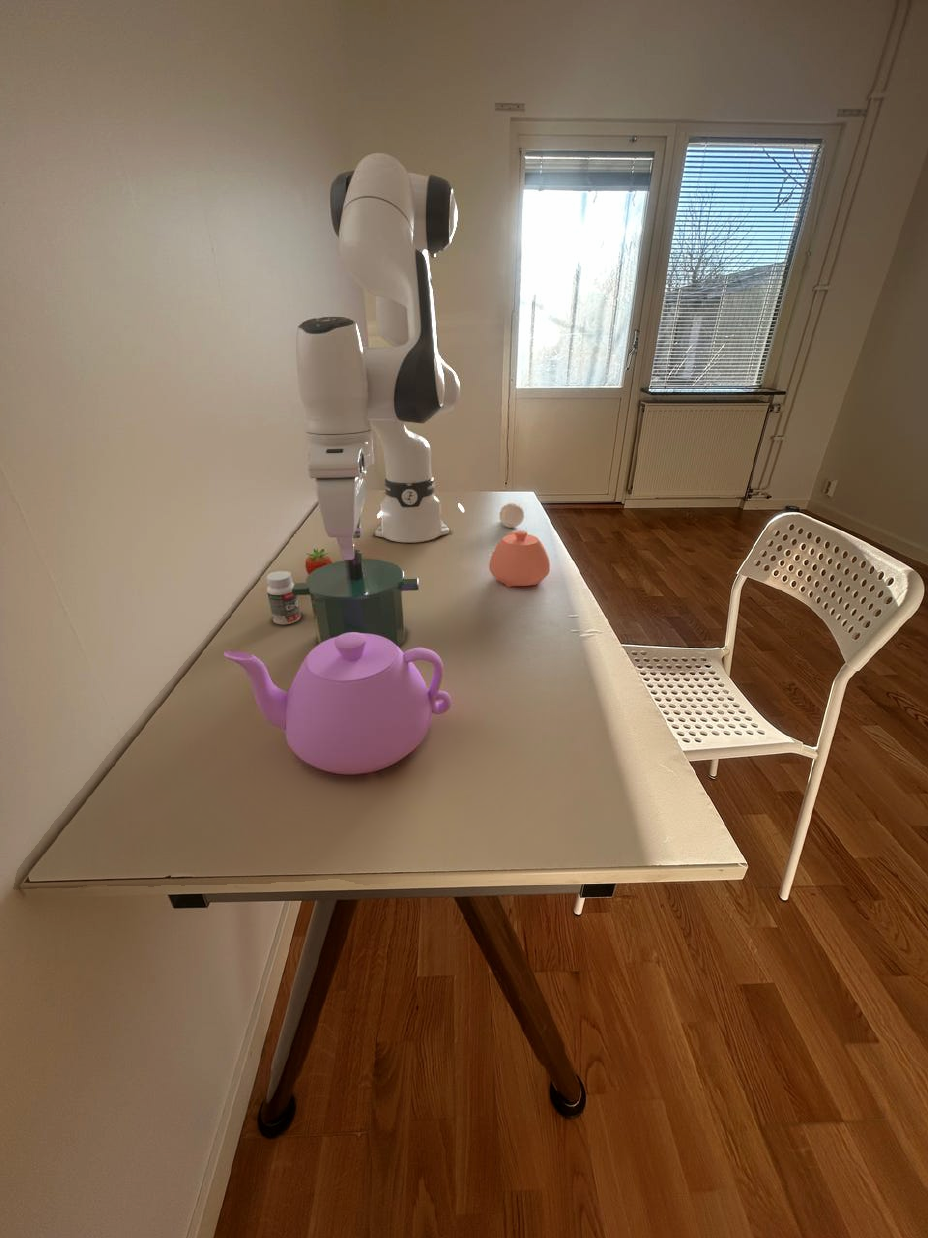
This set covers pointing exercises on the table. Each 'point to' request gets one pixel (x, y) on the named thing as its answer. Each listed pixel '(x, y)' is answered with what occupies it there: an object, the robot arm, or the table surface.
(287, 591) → the pill bottle
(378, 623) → the pot
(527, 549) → the sugar bowl
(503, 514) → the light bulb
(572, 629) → the table surface
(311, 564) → the fruit
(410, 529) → the robot arm
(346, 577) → the lid
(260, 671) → the teapot
